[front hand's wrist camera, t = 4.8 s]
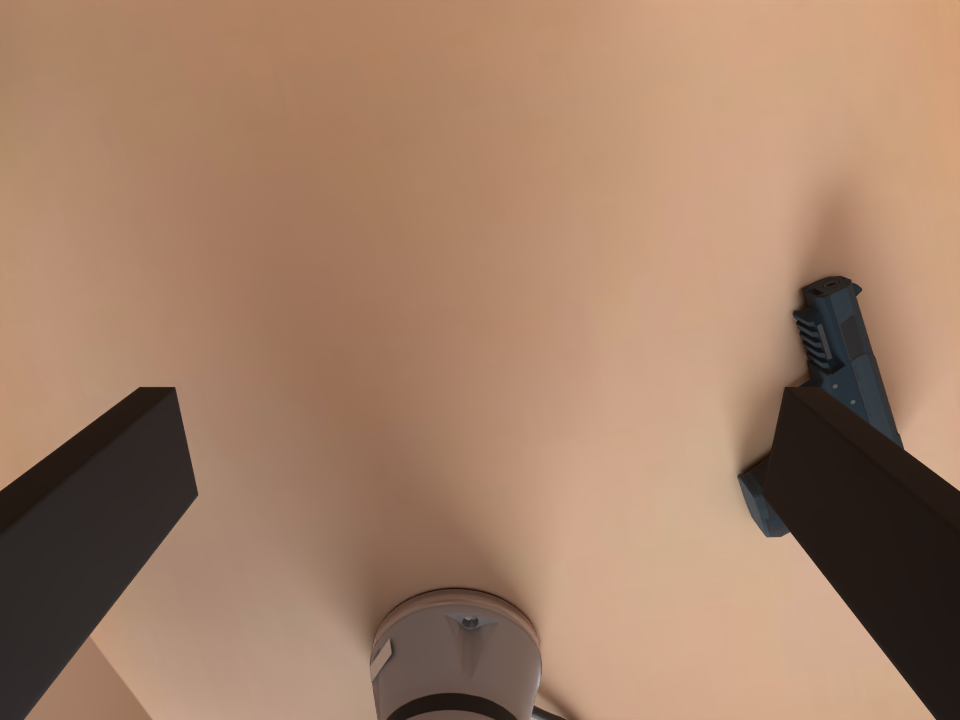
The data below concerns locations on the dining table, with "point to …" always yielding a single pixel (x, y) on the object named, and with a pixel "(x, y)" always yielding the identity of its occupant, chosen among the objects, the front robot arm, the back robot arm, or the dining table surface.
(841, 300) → the handgun
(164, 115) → the dining table surface
